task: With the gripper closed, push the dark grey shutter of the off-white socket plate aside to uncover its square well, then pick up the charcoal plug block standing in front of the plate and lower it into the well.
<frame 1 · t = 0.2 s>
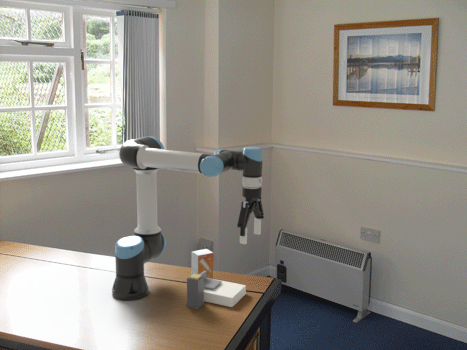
hand: (250, 238, 211), 28 cm above the table, fingers open, 13 cm apart
plug: (195, 305, 214), on the table
shutter: (209, 279, 224), point 6 cm above the table, slide at 0.0 cm
socket: (217, 295, 223), on the table
small box: (202, 279, 241), on the table
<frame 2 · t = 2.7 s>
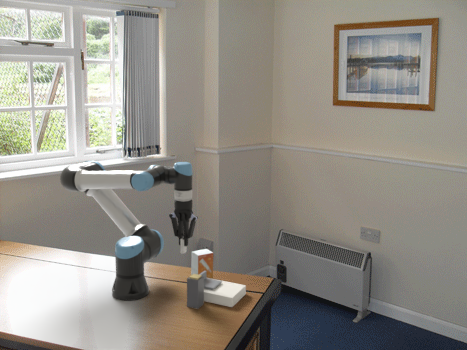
hand: (183, 252, 227), 16 cm above the table, fingers closed
nothing on the table moved.
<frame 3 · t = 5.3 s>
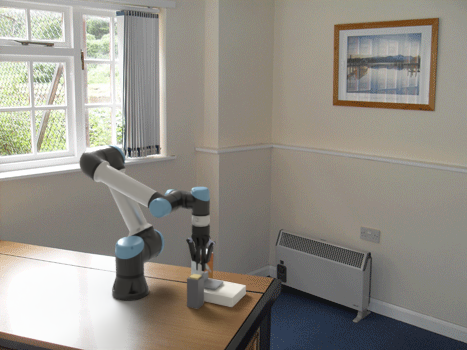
hand: (200, 277, 225), 7 cm above the table, fingers closed
shutter: (210, 280, 223), point 6 cm above the table, slide at 0.9 cm, touching gripper
everything else where it was.
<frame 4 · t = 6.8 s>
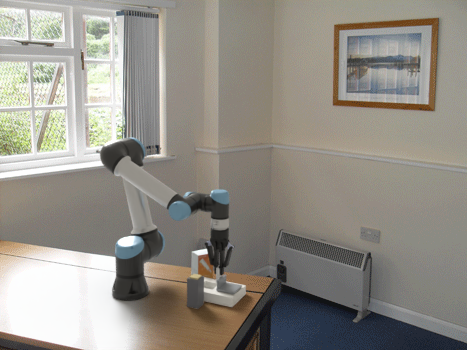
hand: (219, 281, 222), 7 cm above the table, fingers closed
shutter: (229, 283, 220), point 6 cm above the table, slide at 9.4 cm, touching gripper
everything else where it was.
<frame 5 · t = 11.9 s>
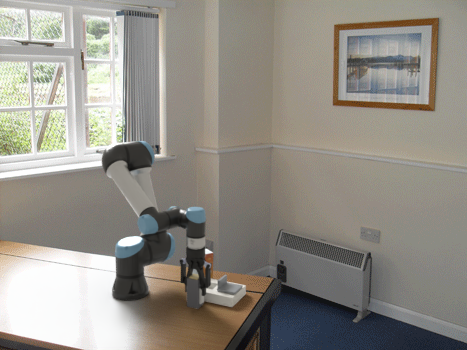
hand: (195, 301, 214), 2 cm above the table, fingers closed on plug, 5 cm apart
plug: (195, 305, 214), on the table, touching gripper
shutter: (229, 284, 220), point 6 cm above the table, slide at 9.7 cm
everything else where it was.
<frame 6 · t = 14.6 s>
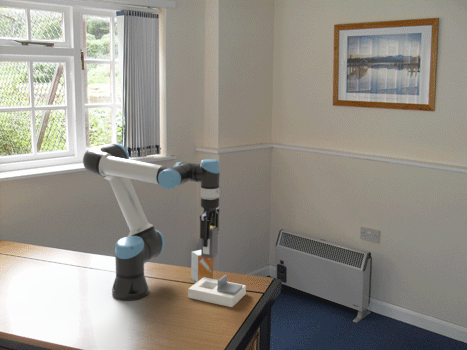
hand: (209, 251, 221), 19 cm above the table, fingers closed on plug, 5 cm apart
plug: (209, 255, 221), point 17 cm above the table, touching gripper
everything else where it was.
when the fingers open (5 cm above the table, at t = 17.3 s): plug drops 2 cm, resting on socket.
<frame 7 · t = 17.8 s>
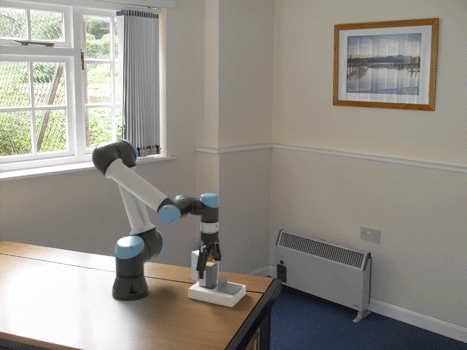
hand: (208, 280, 224), 6 cm above the table, fingers open, 11 cm apart
plug: (208, 291, 225), point 1 cm above the table, touching socket
everything else where it was.
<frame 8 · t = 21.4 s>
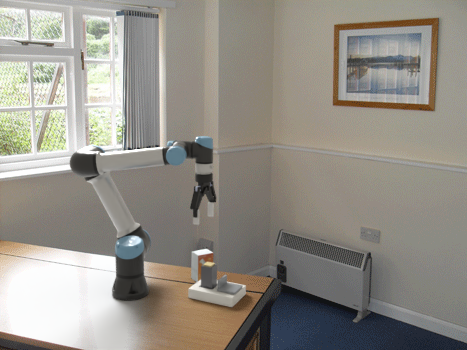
hand: (203, 220, 231), 29 cm above the table, fingers open, 13 cm apart
nothing on the table moved.
at the end: shutter slide at 9.7 cm; plug 0.0 cm from the target spot on the socket, point 1.0 cm above the socket's base; plug tilted 0° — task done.
